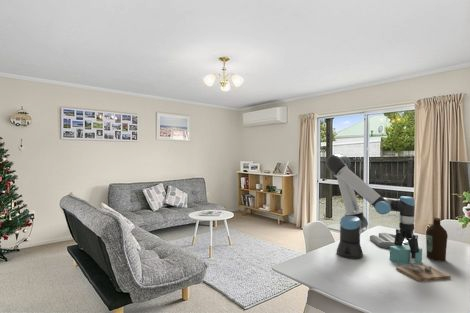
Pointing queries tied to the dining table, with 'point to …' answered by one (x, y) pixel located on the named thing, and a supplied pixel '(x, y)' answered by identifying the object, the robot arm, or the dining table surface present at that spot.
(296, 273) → the dining table surface
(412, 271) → the seat
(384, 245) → the emblem
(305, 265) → the dining table surface
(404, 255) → the teal rectangular block
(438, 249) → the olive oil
